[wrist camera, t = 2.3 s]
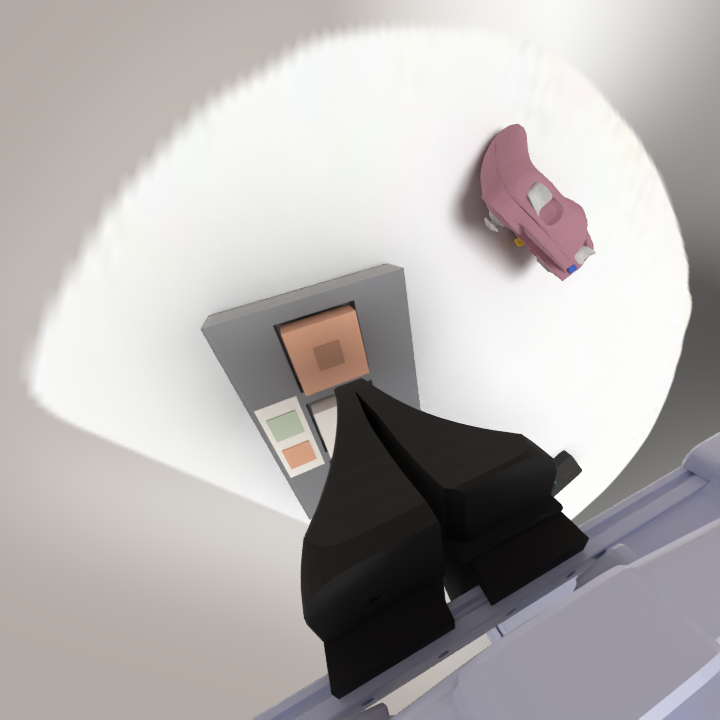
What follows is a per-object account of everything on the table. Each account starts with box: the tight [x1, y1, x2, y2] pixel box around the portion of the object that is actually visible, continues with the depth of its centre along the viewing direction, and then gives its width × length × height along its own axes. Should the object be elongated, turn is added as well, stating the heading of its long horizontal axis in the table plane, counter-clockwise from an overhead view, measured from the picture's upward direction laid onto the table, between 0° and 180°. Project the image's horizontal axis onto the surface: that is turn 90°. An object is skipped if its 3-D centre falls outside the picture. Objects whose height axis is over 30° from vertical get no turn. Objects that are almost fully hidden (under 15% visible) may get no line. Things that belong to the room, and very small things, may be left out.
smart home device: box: [551, 451, 582, 497], centre depth 42 cm, size 8×2×20 cm
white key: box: [310, 394, 337, 458], centre depth 19 cm, size 4×4×2 cm
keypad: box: [201, 264, 420, 519], centre depth 20 cm, size 19×12×3 cm, turn 14°
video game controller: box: [480, 124, 596, 281], centre depth 17 cm, size 10×5×7 cm
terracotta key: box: [280, 305, 370, 396], centre depth 16 cm, size 4×4×2 cm
